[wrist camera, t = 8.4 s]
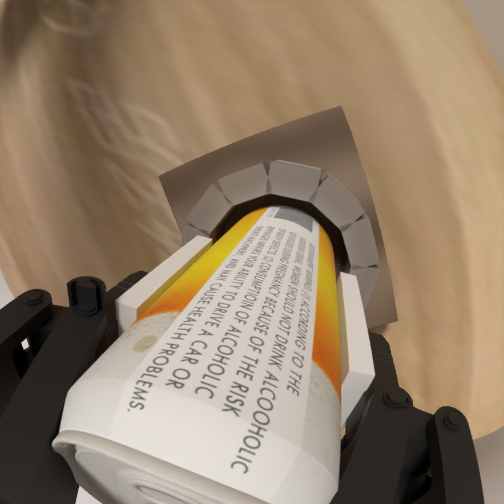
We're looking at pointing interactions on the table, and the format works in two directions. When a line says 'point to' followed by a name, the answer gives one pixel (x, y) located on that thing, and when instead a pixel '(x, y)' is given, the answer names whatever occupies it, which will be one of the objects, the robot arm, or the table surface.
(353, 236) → the cup holder
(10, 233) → the table surface
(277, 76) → the table surface
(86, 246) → the table surface
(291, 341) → the beer can
